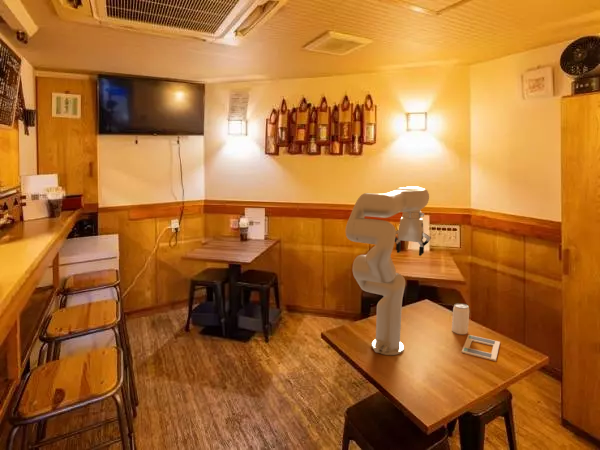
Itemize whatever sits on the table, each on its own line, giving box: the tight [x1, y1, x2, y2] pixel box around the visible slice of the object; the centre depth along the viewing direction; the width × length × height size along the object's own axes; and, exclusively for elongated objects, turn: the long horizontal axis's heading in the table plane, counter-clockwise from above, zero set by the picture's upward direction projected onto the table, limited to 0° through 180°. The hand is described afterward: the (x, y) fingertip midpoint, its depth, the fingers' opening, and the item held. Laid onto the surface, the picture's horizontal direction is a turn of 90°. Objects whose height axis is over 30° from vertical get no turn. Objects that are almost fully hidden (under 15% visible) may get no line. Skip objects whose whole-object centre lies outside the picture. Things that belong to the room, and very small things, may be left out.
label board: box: [461, 334, 501, 362], centre depth 152 cm, size 16×12×1 cm
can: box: [451, 302, 470, 336], centre depth 165 cm, size 6×6×12 cm
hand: (409, 253), depth 167 cm, fingers open, 9 cm apart
